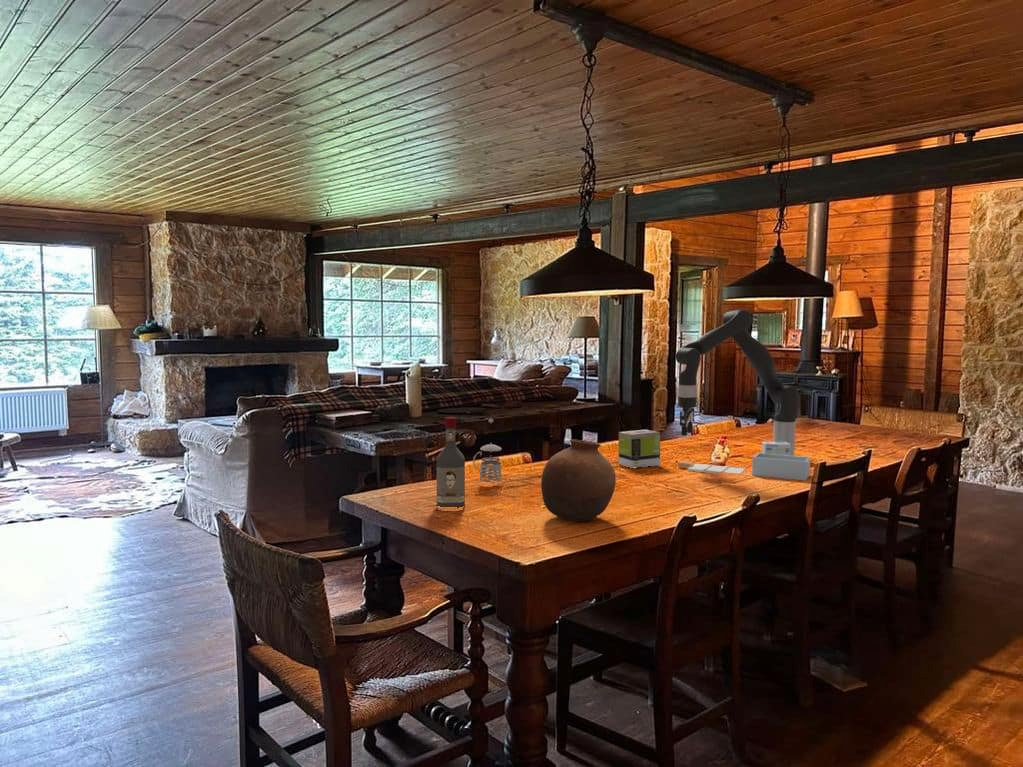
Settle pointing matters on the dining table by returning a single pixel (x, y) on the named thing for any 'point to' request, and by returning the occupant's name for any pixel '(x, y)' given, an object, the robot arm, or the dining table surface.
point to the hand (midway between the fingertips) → (686, 434)
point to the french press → (487, 461)
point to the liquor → (450, 471)
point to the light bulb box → (776, 448)
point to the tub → (781, 466)
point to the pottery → (578, 482)
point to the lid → (709, 468)
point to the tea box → (639, 448)
